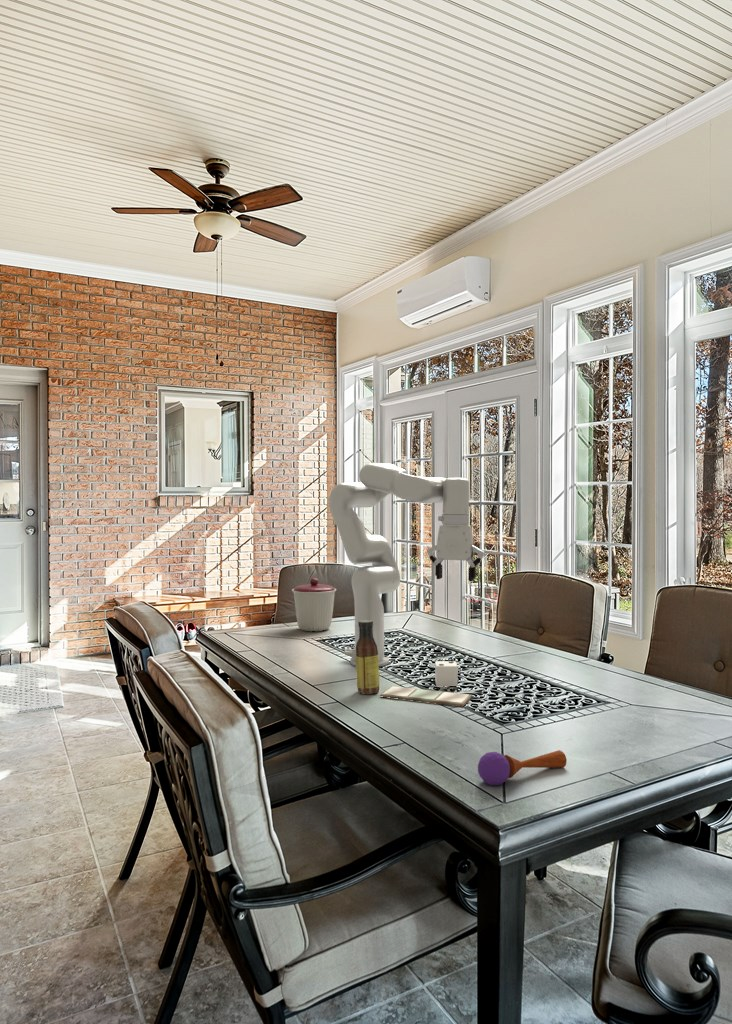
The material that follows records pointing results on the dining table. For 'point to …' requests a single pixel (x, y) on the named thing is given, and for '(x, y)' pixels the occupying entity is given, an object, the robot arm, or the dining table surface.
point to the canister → (314, 605)
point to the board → (427, 696)
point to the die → (446, 673)
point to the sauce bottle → (367, 659)
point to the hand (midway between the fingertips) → (455, 579)
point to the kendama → (514, 765)
